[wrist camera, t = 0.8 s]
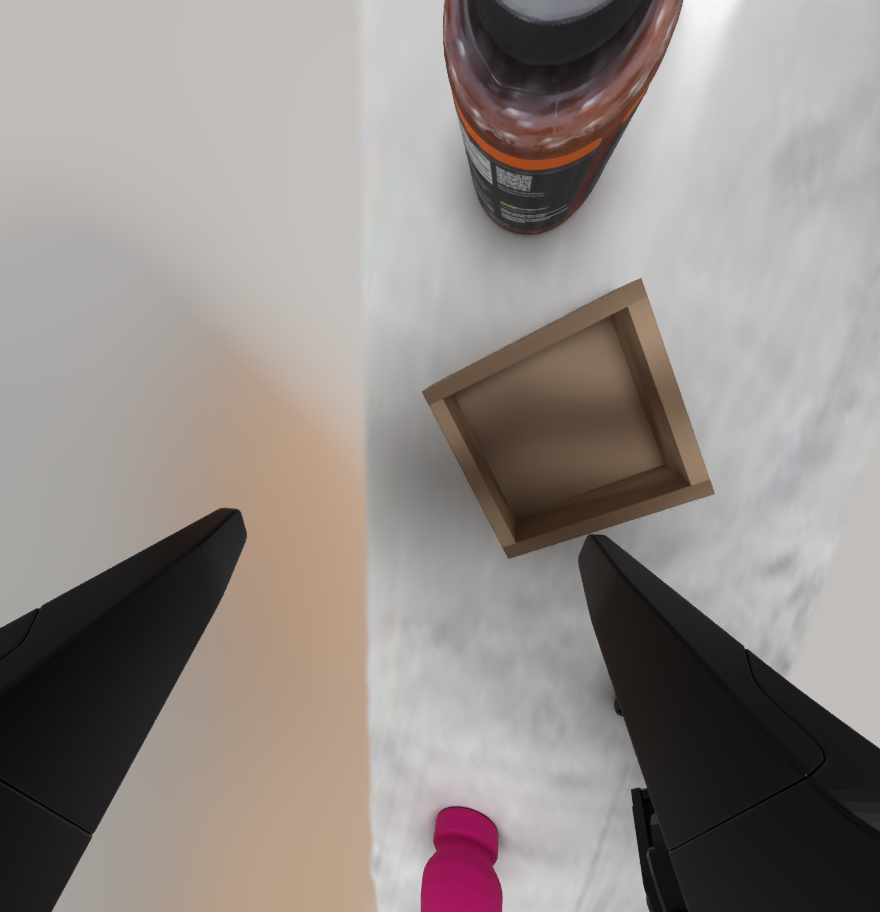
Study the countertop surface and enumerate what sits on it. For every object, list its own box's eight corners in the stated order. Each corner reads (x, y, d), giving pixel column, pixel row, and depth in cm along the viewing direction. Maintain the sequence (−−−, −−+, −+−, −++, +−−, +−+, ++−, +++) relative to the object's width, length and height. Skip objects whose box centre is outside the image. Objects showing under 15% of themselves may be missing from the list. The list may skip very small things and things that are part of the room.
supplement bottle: (594, 60, 15) (810, -622, 4) (606, 215, 16) (783, -1, 6) (460, 115, 16) (376, -292, 6) (484, 253, 18) (452, 132, 7)
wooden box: (680, 468, 20) (714, 493, 16) (508, 527, 23) (508, 558, 20) (616, 289, 17) (641, 277, 14) (435, 383, 21) (421, 391, 17)
